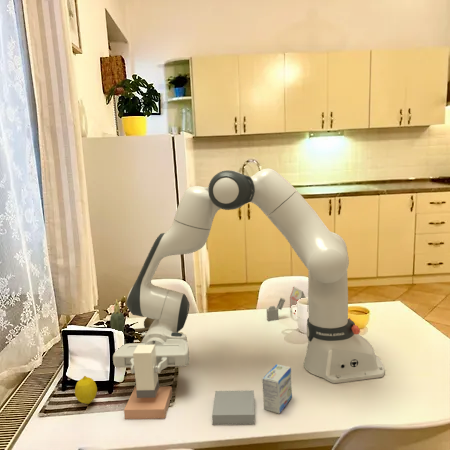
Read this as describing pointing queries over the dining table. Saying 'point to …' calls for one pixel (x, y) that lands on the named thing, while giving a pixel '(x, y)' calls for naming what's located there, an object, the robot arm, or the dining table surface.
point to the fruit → (85, 390)
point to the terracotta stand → (149, 405)
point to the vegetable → (117, 318)
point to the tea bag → (296, 296)
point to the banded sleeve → (145, 371)
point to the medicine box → (277, 388)
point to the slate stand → (233, 407)
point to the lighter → (274, 310)
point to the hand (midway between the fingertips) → (145, 370)
